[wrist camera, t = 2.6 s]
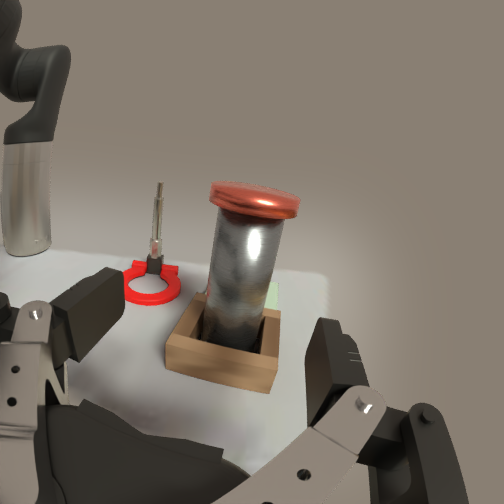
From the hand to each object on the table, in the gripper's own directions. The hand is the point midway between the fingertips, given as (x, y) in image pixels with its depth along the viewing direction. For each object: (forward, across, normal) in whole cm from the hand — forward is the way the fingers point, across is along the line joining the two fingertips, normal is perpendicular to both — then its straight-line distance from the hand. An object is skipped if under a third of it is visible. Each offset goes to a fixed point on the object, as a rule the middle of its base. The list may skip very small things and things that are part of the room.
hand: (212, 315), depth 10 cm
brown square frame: (+12, 0, +12) cm, 16 cm away
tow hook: (+20, +12, +12) cm, 26 cm away
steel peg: (+12, 0, +12) cm, 16 cm away
